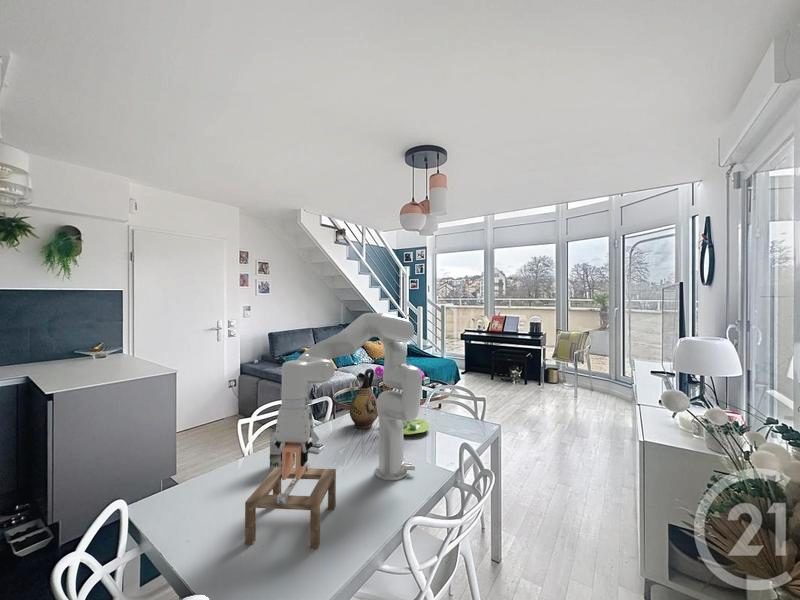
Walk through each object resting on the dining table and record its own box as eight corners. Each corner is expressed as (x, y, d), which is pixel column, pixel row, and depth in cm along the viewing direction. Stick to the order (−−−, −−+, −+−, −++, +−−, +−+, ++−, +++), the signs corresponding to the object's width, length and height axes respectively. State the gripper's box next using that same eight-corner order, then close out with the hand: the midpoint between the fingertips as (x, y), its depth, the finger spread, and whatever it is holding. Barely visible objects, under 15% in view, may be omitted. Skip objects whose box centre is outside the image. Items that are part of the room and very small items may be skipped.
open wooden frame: (335, 506, 115) (335, 469, 115) (317, 549, 95) (317, 504, 95) (275, 503, 116) (275, 467, 116) (245, 546, 96) (245, 502, 96)
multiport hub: (319, 454, 154) (319, 448, 154) (298, 450, 158) (298, 444, 158) (325, 450, 158) (325, 444, 158) (304, 446, 162) (304, 441, 162)
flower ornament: (362, 433, 180) (358, 365, 180) (392, 415, 205) (389, 354, 204) (414, 443, 165) (410, 369, 164) (439, 422, 189) (436, 357, 188)
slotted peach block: (305, 470, 108) (305, 440, 108) (298, 480, 102) (299, 448, 102) (289, 469, 108) (289, 439, 108) (281, 479, 102) (282, 447, 102)
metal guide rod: (309, 468, 115) (309, 462, 115) (285, 503, 95) (285, 496, 95) (301, 468, 115) (301, 462, 115) (276, 503, 95) (276, 496, 95)
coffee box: (284, 474, 135) (284, 432, 135) (269, 472, 136) (269, 431, 136) (296, 463, 144) (296, 424, 144) (281, 462, 145) (281, 423, 145)
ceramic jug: (367, 433, 177) (367, 373, 177) (343, 427, 186) (343, 370, 186) (386, 423, 192) (386, 367, 192) (363, 418, 200) (363, 365, 200)
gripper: (326, 399, 109) (325, 459, 108) (272, 398, 110) (271, 457, 109) (319, 407, 101) (318, 471, 101) (261, 405, 102) (260, 468, 102)
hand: (294, 463), depth 105 cm, fingers closed on slotted peach block, 4 cm apart
